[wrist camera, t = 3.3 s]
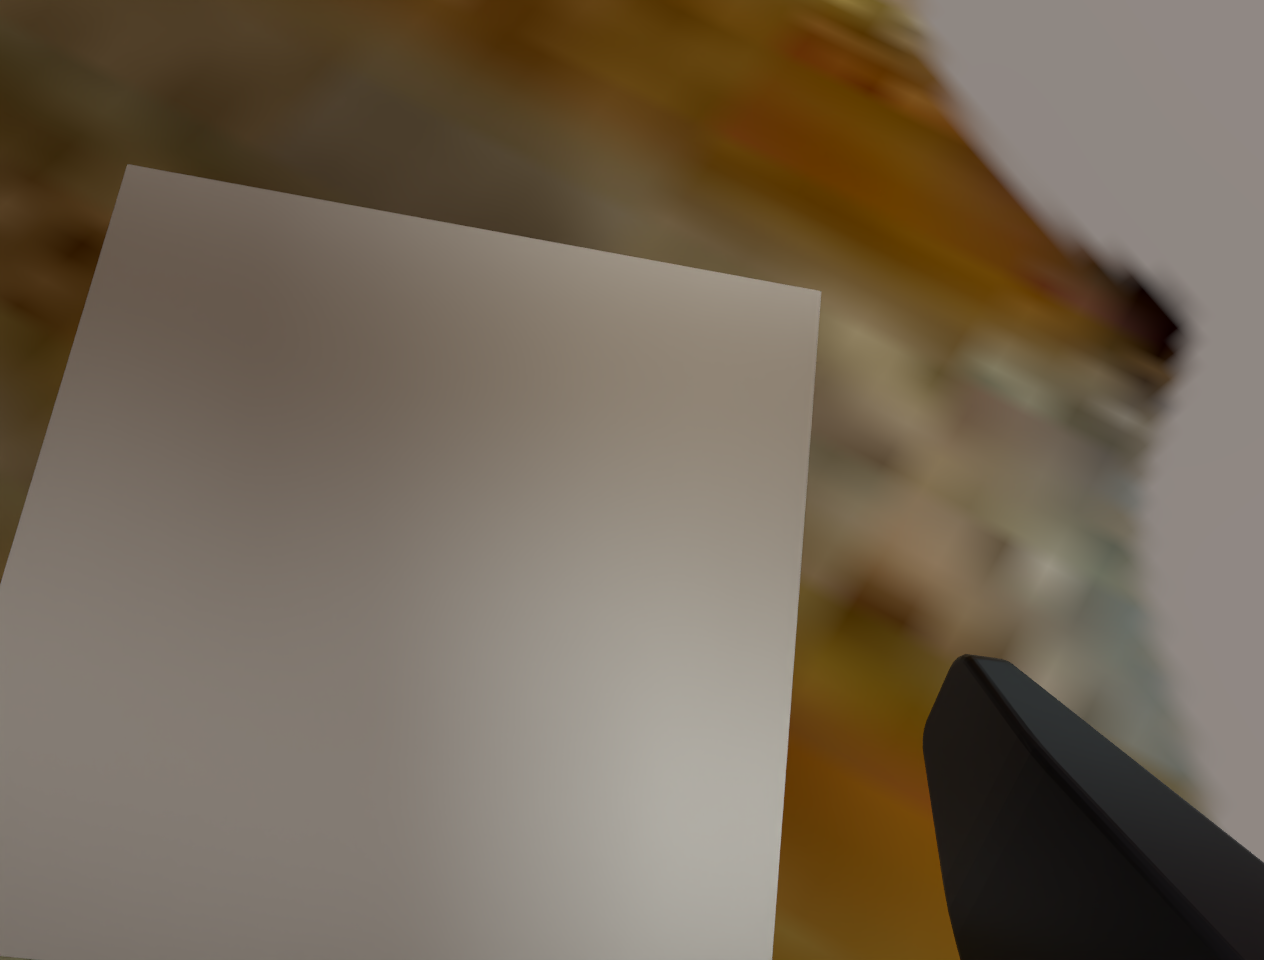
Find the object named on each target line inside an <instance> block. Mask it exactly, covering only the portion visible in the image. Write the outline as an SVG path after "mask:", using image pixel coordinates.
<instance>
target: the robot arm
mask: <svg viewBox="0 0 1264 960" xmlns="http://www.w3.org/2000/svg"><path fill="white" fill-rule="evenodd" d="M923 754H924V760H925V767H926V773H927V780H928V787H929V793H930V800H931V806H932V813H933V819H934V826H935V833H936V839H937V846H938V852H939V859H940V866H941V872H942V879H943V885H944V890H945V896H946V901H947V907H948V912H949V916H950V920H951V924H952V928H953V933H954V937H955V941H956V945H957V948H958V952H959V956H960V960H1264V862H1262V861H1261V860H1260V859H1258V858H1257V857H1256V856H1254V855H1253V854H1252V853H1251V852H1249V851H1248V850H1247V849H1246V848H1245V847H1243V846H1242V845H1241V844H1239V843H1238V842H1237V841H1236V840H1234V839H1233V838H1232V837H1231V836H1229V835H1228V834H1227V833H1226V832H1224V831H1223V830H1222V829H1220V828H1219V827H1218V826H1217V825H1215V824H1214V823H1213V822H1212V821H1210V820H1209V819H1208V818H1207V817H1205V816H1204V815H1203V814H1201V813H1200V812H1199V811H1198V810H1196V809H1195V808H1194V807H1193V806H1191V805H1190V804H1189V803H1188V802H1186V801H1185V800H1184V799H1182V798H1181V797H1180V796H1179V795H1177V794H1176V793H1175V792H1174V791H1172V790H1171V789H1170V788H1169V787H1167V786H1166V785H1165V784H1163V783H1162V782H1161V781H1160V780H1158V779H1157V778H1156V777H1155V776H1153V775H1152V774H1151V773H1150V772H1148V771H1147V770H1146V769H1144V768H1143V767H1142V766H1141V765H1139V764H1138V763H1137V762H1136V761H1134V760H1133V759H1132V758H1131V757H1129V756H1128V755H1127V754H1126V753H1124V752H1123V751H1122V750H1120V749H1119V748H1118V747H1117V746H1115V745H1114V744H1113V743H1112V742H1110V741H1109V740H1108V739H1107V738H1105V737H1104V736H1103V735H1101V734H1100V733H1099V732H1098V731H1096V730H1095V729H1094V728H1093V727H1091V726H1090V725H1089V724H1088V723H1086V722H1085V721H1084V720H1082V719H1081V718H1080V717H1079V716H1077V715H1076V714H1075V713H1074V712H1072V711H1071V710H1070V709H1069V708H1067V707H1066V706H1065V705H1063V704H1062V703H1061V702H1060V701H1058V700H1057V699H1056V698H1055V697H1053V696H1052V695H1051V694H1050V693H1048V692H1047V691H1046V690H1045V689H1043V688H1042V687H1041V686H1039V685H1038V684H1037V683H1036V682H1034V681H1033V680H1032V679H1031V678H1029V677H1028V676H1027V675H1026V674H1024V673H1023V672H1022V671H1020V670H1019V669H1018V668H1017V667H1015V666H1014V665H1013V664H1011V663H1010V662H1008V661H1006V660H1003V659H998V658H991V657H984V656H977V655H970V654H965V655H962V656H960V657H958V658H957V659H956V660H955V661H954V662H953V664H952V666H951V667H950V669H949V671H948V674H947V676H946V678H945V680H944V683H943V685H942V687H941V689H940V692H939V694H938V696H937V698H936V701H935V703H934V705H933V707H932V710H931V712H930V714H929V716H928V719H927V721H926V724H925V728H924V733H923Z"/></svg>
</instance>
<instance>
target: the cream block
mask: <svg viewBox="0 0 1264 960" xmlns="http://www.w3.org/2000/svg"><path fill="white" fill-rule="evenodd" d="M820 302H821V291H817V290H811V289H806V288H801V287H795V286H790V285H784V284H779V283H773V282H768V281H762V280H757V279H751V278H746V277H741V276H735V275H730V274H724V273H719V272H713V271H708V270H702V269H697V268H691V267H686V266H681V265H675V264H670V263H664V262H659V261H653V260H648V259H642V258H637V257H631V256H626V255H621V254H615V253H610V252H604V251H599V250H593V249H588V248H582V247H577V246H571V245H566V244H561V243H555V242H550V241H544V240H539V239H533V238H528V237H522V236H517V235H511V234H506V233H501V232H495V231H490V230H484V229H479V228H473V227H468V226H462V225H457V224H451V223H446V222H441V221H435V220H430V219H424V218H419V217H413V216H408V215H402V214H397V213H391V212H386V211H381V210H375V209H370V208H364V207H359V206H353V205H348V204H342V203H337V202H331V201H326V200H321V199H315V198H310V197H304V196H299V195H293V194H288V193H282V192H277V191H271V190H266V189H261V188H255V187H250V186H244V185H239V184H233V183H228V182H222V181H217V180H212V179H206V178H201V177H195V176H190V175H184V174H179V173H173V172H168V171H162V170H157V169H152V168H146V167H141V166H135V165H130V164H127V167H126V171H125V174H124V177H123V180H122V184H121V187H120V190H119V194H118V197H117V200H116V204H115V207H114V210H113V213H112V217H111V220H110V223H109V227H108V230H107V233H106V237H105V240H104V243H103V247H102V250H101V253H100V256H99V260H98V263H97V266H96V270H95V273H94V276H93V280H92V283H91V286H90V289H89V293H88V296H87V299H86V303H85V306H84V309H83V313H82V316H81V319H80V323H79V326H78V329H77V332H76V336H75V339H74V342H73V346H72V349H71V352H70V356H69V359H68V362H67V365H66V369H65V372H64V375H63V379H62V382H61V385H60V389H59V392H58V395H57V399H56V402H55V405H54V408H53V412H52V415H51V418H50V422H49V425H48V428H47V432H46V435H45V438H44V441H43V445H42V448H41V451H40V455H39V458H38V461H37V465H36V468H35V471H34V475H33V478H32V481H31V484H30V488H29V491H28V494H27V498H26V501H25V504H24V508H23V511H22V514H21V517H20V521H19V524H18V527H17V531H16V534H15V537H14V541H13V544H12V547H11V551H10V554H9V557H8V560H7V564H6V567H5V570H4V574H3V577H2V580H1V584H0V956H6V957H16V958H26V959H36V960H772V951H773V938H774V924H775V911H776V897H777V884H778V870H779V857H780V843H781V830H782V816H783V802H784V789H785V775H786V762H787V748H788V735H789V721H790V708H791V694H792V681H793V667H794V654H795V640H796V627H797V613H798V599H799V586H800V572H801V559H802V545H803V532H804V518H805V505H806V491H807V478H808V464H809V451H810V437H811V424H812V410H813V396H814V383H815V369H816V356H817V342H818V329H819V315H820Z"/></svg>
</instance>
